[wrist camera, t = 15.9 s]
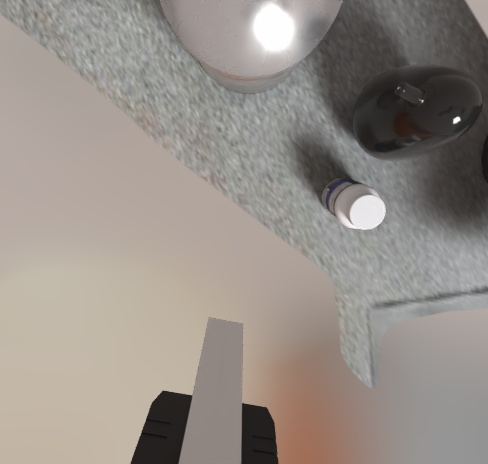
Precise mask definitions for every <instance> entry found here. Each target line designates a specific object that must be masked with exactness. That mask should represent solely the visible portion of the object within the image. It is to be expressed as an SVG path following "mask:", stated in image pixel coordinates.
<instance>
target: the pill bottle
mask: <svg viewBox="0 0 488 464" xmlns="http://www.w3.org/2000/svg"><path fill="white" fill-rule="evenodd" d="M322 202H323V205H324V207H325V209H326V210H327V211H328V212H329V213H330V214H331V215H333V216H334V217H335V218H336V219H337V220H338V221H340V222H341V223H342V224H343V225H345V226H347V227H349V228H355V229H358V228H359V229H364V230H367V229H372V228H374V227H376V226H377V225H379V224H380V223H381V221H382V220H383V218H384V216H385V211H386V209H385V204H384V202H383V201H382V200H381V199H380V197H379V195H378V193H377V192H376V191H375V190H374V189H373V188H371V187H370V186H367V185H365V184H362V183H359V182H357V181H354V180H351V179H347V178H339V179H335V180H333V181H332V182H330V183H329V184H328V185H327V186H326V188H325V189H324V191H323V195H322Z"/></svg>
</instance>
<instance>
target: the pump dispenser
mask: <svg viewBox="0 0 488 464" xmlns="http://www.w3.org/2000/svg"><path fill="white" fill-rule="evenodd" d="M482 102H483V99H482V93H481V90H480V88H479V86H478V84H477V83H476V82H475V81H474V80H473V79H472V78H471V77H470V76H469V75H467V74H466V73H464V72H462V71H459V70H457V69H454V68H451V67H446V66H439V65H429V64H418V65H408V66H402V67H398V68H394V69H391V70H389V71H386V72H384V73H382V74H380V75H379V76H377V77H376V78H374V79H373V80H372V81H371V82H370V83H369V84H368V85H367V86H366V87H365V88H364V90H363V91H362V92H361V94H360V96H359V98H358V100H357V102H356V104H355V107H354V111H353V119H352V124H353V131H354V135H355V138H356V140H357V142H358V144H359V145H360V147H361V148H362V149H363V150H364V151H365V152H366V153H367V154H369V155H370V156H372V157H374V158H377V159H380V160H386V161H401V160H408V159H413V158H418V157H421V156H425V155H428V154H430V153H433V152H435V151H438V150H440V149H442V148H444V147H446V146H448V145H450V144H451V143H453V142H455V141H456V140H457V139H459V138H460V137H461V136H463V135H464V134H465V133H466V132H467V131H468V130H469V129H470V128H471V127H472V126H473V124H474V123H475V121H476V120H477V118H478V116H479V114H480V112H481V108H482Z"/></svg>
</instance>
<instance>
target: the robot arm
mask: <svg viewBox="0 0 488 464" xmlns="http://www.w3.org/2000/svg"><path fill="white" fill-rule="evenodd" d="M483 171H484V175H485V178H486V180H487V182H488V138H487V140H486V143H485V147H484V152H483ZM242 362H243V324H242V323H237V322H231V321H226V320H221V319H215V318H210V317H209V319H208V324H207V328H206V333H205V338H204V343H203V348H202V352H201V357H200V362H199V367H198V372H197V376H196V381H195V386H194V391H193V396H192V395H186V394H180V393H174V392H168V391H162V392H161V393H160V395H159V396H158V397H157V398H156V399H155V400H154V401H153V402H152V405H151V407H150V410H149V413H148V416H147V418H146V422H145V424H144V427H143V430H142V433H141V436H140V438H139V441H138V444H137V447H136V450H135V452H134V455H133V458H132V461H131V464H278V457H277V445H276V435H275V425H274V421H273V419H272V417H271V415H270V413H269V411H268V409H267V408H266V407H261V406H255V405H249V404H244V403H242Z"/></svg>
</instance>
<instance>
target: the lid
mask: <svg viewBox="0 0 488 464" xmlns="http://www.w3.org/2000/svg"><path fill="white" fill-rule="evenodd" d="M159 1H160V4H161V7H162V9H163V11H164V14H165V16H166V18H167V20H168V22H169V24H170V26H171V27H172V29H173V31H174V32H175V34H176V35H177V37H178V38H179V40H180V41H181V42H182V44H183V45H184V46H185V48H186V49H187V50H188V51H189V52H190V53H191V54H192V55H193V56H194V57H195V58H196V59H197V60H199V61H200V62H201V63H202V64H204V65H205V66H207V67H208V68H210V69H212V70H213V71H215V72H217V73H220V74H222V75H224V76H228V77H232V78H235V79H243V80H258V79H264V78H269V77H273V76H276V75H279V74H281V73H283V72H285V71H287V70H289V69H291V68H293V67H294V66H296V65H297V64H299V63H300V62H301V61H302V60H303V59H305V58H306V57H307V56H308V55H309V54H310V53H311V52H312V51H313V50H314V49H315V48H316V46H317V45H318V44H319V43H320V41H321V40H322V39H323V37H324V36H325V35H326V33H327V32H328V30H329V29H330V27H331V25H332V24H333V22H334V20H335V18H336V16H337V14H338V12H339V9H340V7H341V4H342V2H343V0H159Z"/></svg>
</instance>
